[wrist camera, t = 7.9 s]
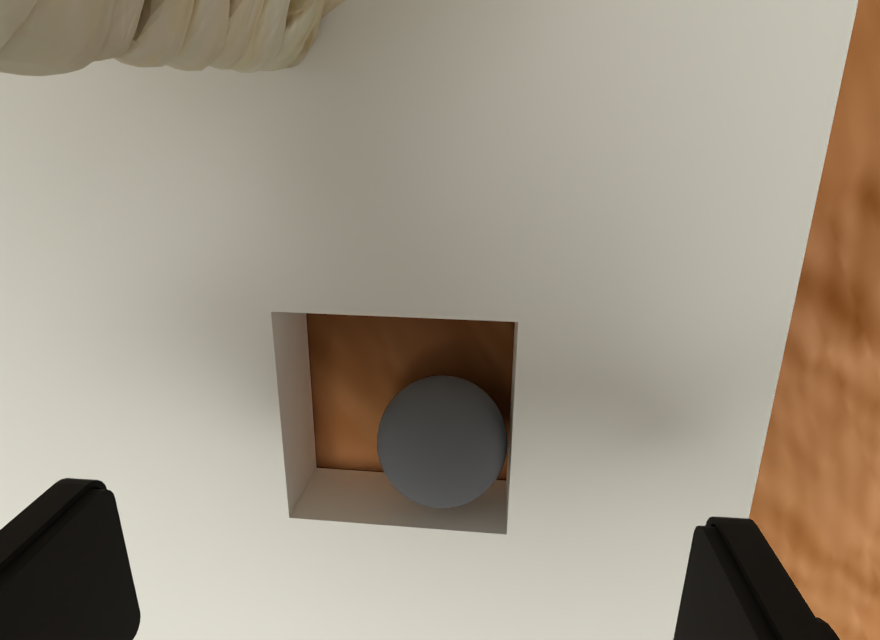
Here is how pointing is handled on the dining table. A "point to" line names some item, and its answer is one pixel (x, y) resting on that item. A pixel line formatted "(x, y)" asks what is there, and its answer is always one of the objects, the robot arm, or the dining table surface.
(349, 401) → the dining table surface
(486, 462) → the ball
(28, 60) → the storage basket
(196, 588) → the board
